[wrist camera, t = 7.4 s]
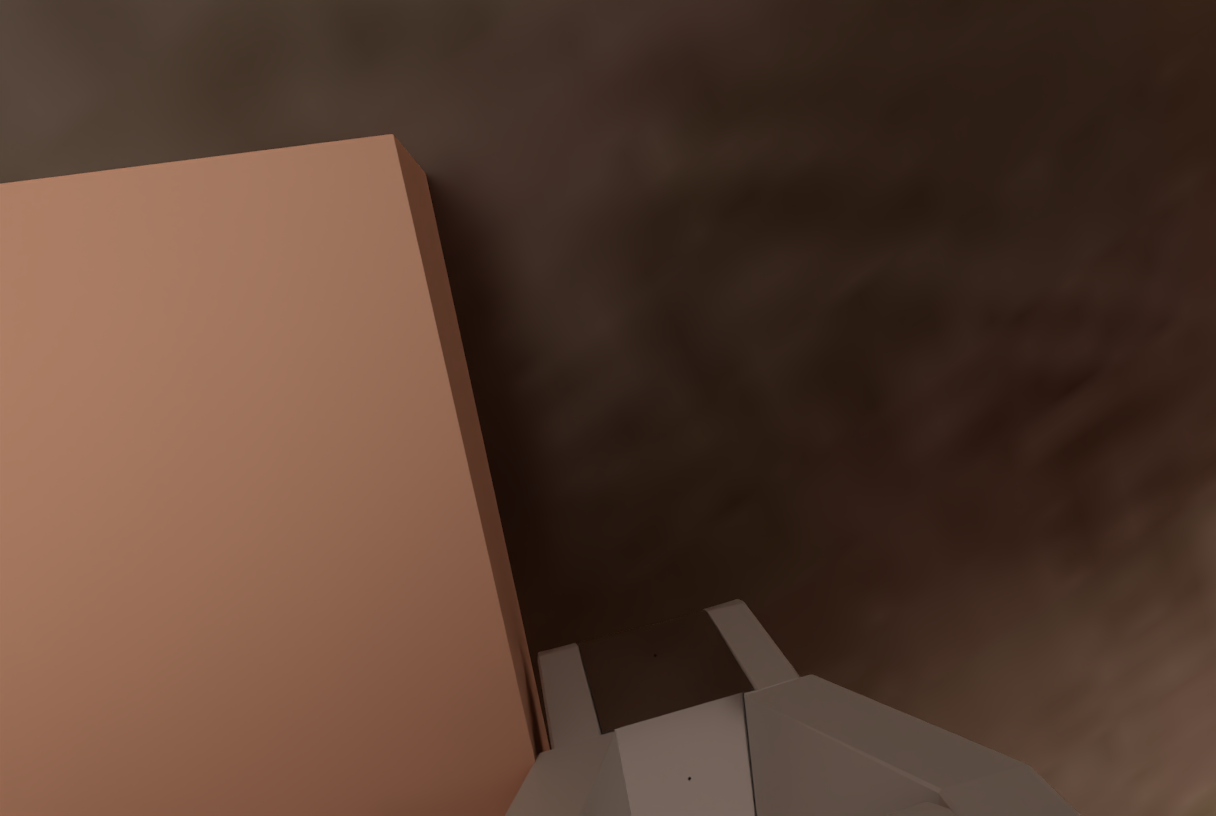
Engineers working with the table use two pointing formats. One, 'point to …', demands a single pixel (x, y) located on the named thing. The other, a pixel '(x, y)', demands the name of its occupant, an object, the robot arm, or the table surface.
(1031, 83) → the table surface
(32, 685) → the terracotta block
